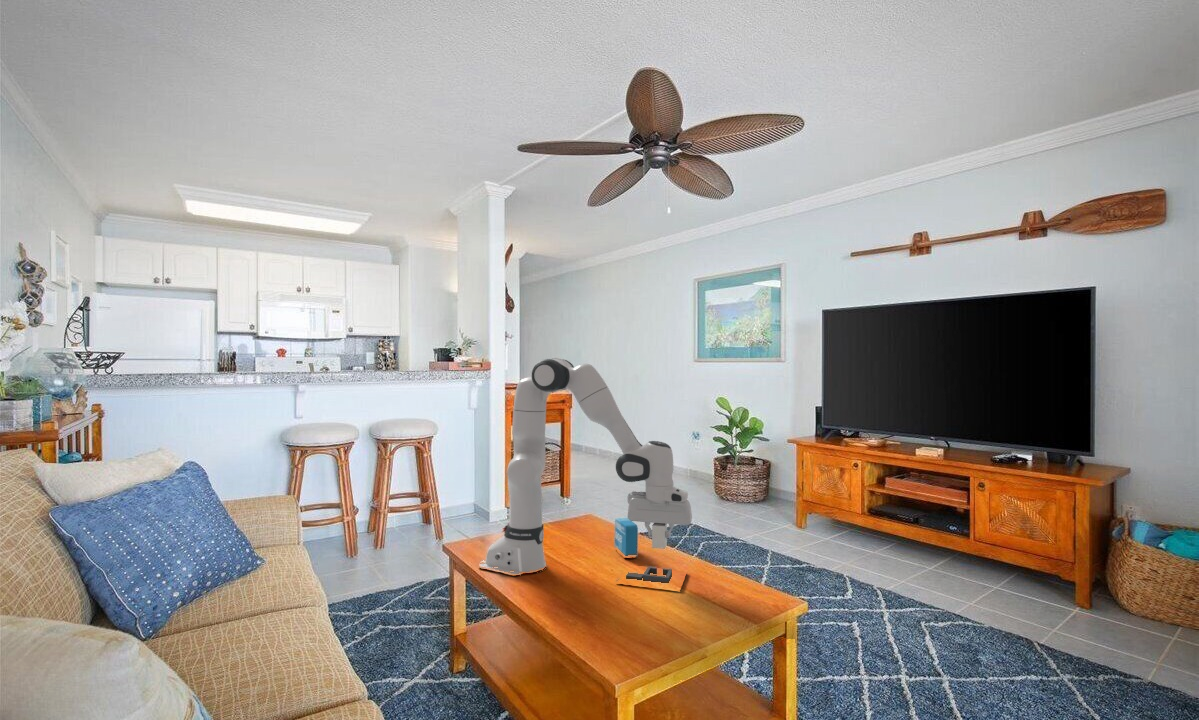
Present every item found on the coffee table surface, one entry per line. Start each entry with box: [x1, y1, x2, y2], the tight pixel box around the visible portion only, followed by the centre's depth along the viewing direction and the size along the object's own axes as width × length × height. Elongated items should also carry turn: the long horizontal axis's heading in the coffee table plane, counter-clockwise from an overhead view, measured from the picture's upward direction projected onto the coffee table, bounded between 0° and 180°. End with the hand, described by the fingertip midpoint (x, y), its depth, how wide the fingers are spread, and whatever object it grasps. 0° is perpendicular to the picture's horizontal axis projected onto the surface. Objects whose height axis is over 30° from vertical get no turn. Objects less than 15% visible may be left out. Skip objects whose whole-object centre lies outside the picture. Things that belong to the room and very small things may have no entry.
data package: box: [614, 517, 639, 556], centre depth 209 cm, size 12×4×12 cm, turn 18°
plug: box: [651, 523, 668, 550], centre depth 183 cm, size 4×4×7 cm
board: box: [615, 566, 673, 583], centre depth 185 cm, size 20×16×3 cm
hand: (659, 536), depth 183 cm, fingers closed on plug, 4 cm apart
